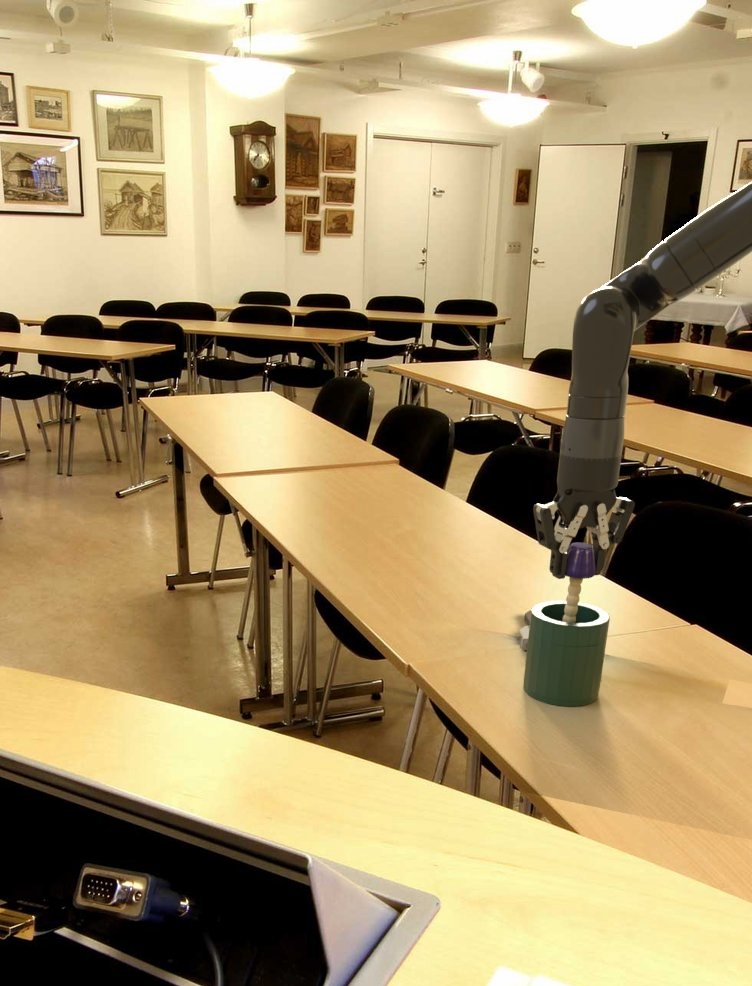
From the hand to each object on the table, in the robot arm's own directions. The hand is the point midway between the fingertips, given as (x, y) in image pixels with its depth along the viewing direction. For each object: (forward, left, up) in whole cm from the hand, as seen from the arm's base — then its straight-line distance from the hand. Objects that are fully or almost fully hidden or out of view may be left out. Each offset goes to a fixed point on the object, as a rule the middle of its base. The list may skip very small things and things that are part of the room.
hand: (575, 574), depth 125 cm
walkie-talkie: (+6, -15, -18) cm, 24 cm away
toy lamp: (0, 0, -13) cm, 13 cm away
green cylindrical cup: (0, 0, -18) cm, 18 cm away
